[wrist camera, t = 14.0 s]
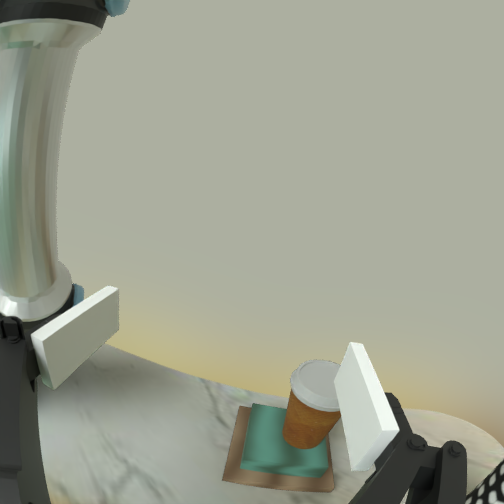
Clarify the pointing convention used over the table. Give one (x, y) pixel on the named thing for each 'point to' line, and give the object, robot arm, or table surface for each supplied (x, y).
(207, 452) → the table surface
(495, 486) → the white-spotted black cylinder
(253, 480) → the display stand
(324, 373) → the disposable coffee cup
